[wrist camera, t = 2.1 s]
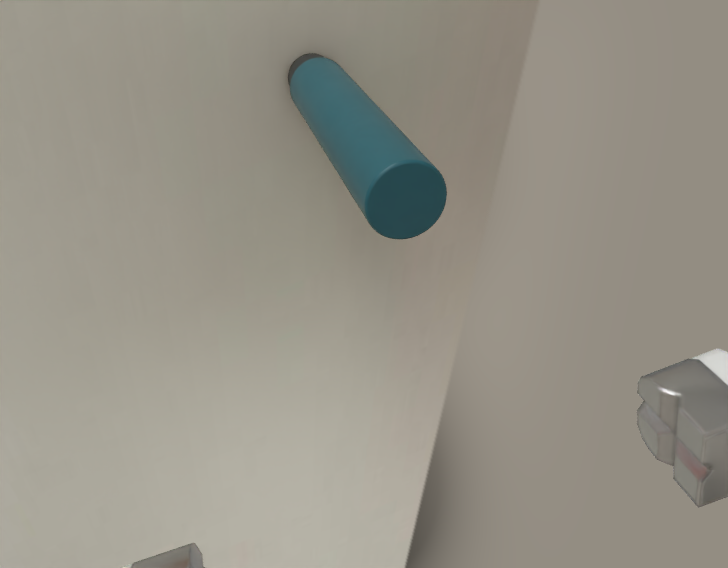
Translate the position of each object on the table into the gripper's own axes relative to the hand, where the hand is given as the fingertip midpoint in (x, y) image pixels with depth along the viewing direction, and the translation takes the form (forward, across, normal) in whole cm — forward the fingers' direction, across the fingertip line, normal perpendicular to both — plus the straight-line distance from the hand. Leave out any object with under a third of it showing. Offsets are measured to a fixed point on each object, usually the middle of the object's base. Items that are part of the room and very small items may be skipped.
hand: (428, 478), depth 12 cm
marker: (+22, -2, 0) cm, 22 cm away
